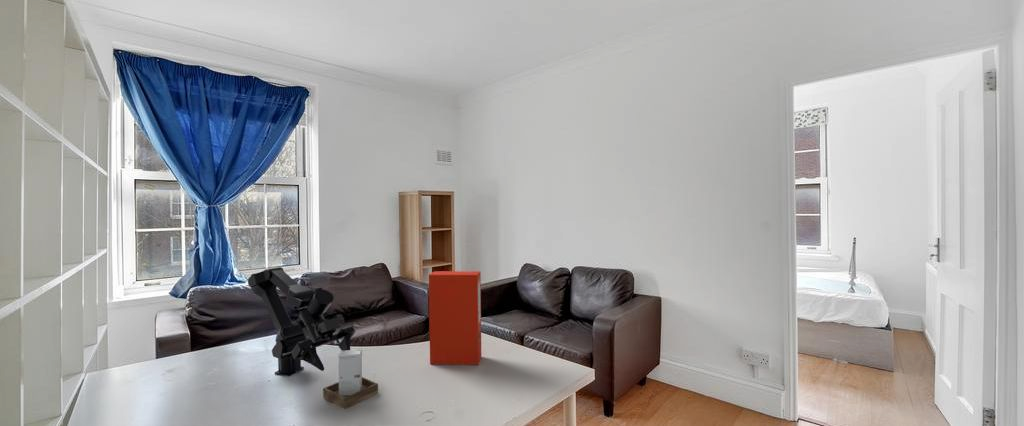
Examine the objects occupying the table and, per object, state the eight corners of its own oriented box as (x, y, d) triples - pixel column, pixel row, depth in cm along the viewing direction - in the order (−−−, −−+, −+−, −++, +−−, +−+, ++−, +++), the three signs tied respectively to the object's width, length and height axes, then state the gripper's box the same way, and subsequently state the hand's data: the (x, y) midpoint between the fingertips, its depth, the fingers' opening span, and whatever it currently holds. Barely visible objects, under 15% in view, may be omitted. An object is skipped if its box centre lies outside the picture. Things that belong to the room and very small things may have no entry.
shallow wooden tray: (323, 398, 116) (323, 388, 116) (356, 383, 125) (356, 374, 125) (344, 409, 110) (344, 398, 110) (378, 393, 119) (377, 383, 119)
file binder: (436, 355, 147) (434, 270, 146) (481, 356, 146) (480, 271, 145) (430, 364, 139) (428, 275, 138) (478, 365, 138) (477, 275, 137)
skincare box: (338, 396, 115) (337, 356, 114) (341, 389, 119) (340, 350, 119) (360, 394, 116) (359, 354, 116) (362, 387, 121) (362, 348, 120)
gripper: (296, 315, 115) (319, 361, 109) (351, 301, 131) (374, 340, 125) (282, 337, 119) (303, 381, 114) (337, 320, 135) (358, 359, 130)
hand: (337, 364), depth 121 cm, fingers open, 9 cm apart
